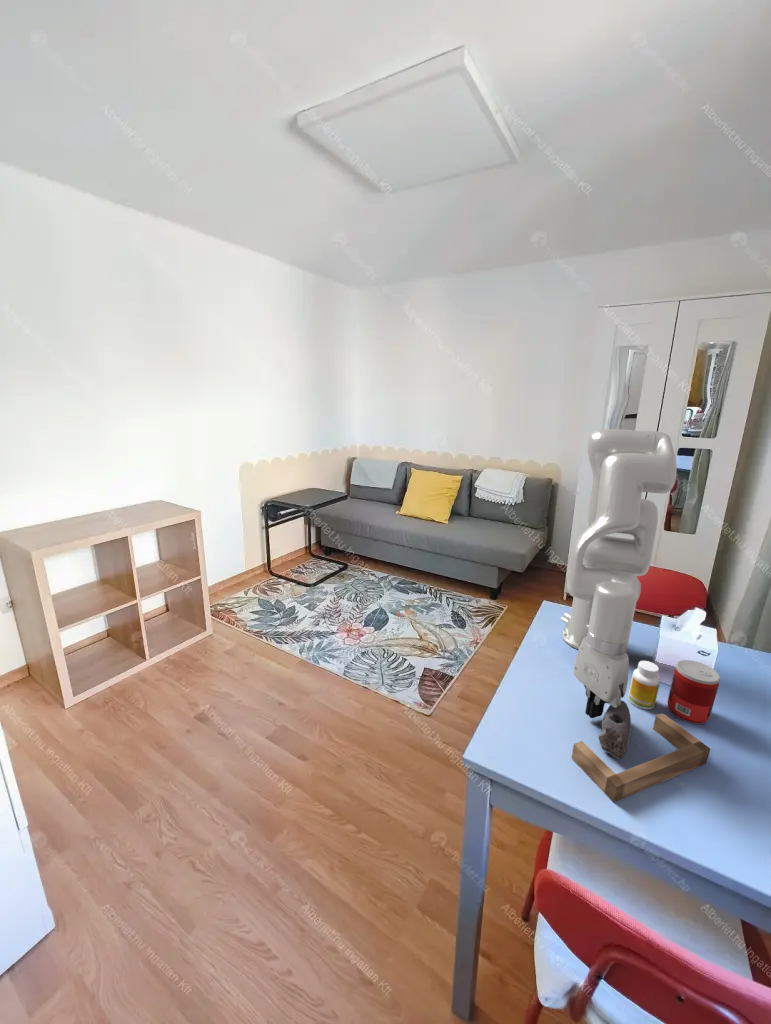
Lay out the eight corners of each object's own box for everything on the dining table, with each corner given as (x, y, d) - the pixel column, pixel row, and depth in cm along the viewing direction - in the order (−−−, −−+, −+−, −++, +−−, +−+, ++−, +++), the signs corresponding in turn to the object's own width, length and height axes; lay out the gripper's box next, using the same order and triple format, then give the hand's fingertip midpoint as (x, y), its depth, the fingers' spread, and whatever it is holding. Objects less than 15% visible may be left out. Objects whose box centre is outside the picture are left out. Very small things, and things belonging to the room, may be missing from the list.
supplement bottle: (655, 713, 98) (664, 676, 95) (628, 705, 100) (636, 669, 97) (653, 698, 102) (661, 662, 100) (627, 691, 104) (634, 656, 102)
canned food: (716, 727, 94) (728, 684, 91) (674, 721, 95) (685, 678, 92) (699, 703, 101) (709, 662, 98) (661, 697, 102) (670, 657, 99)
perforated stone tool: (606, 711, 98) (611, 685, 96) (632, 721, 95) (638, 695, 93) (592, 755, 86) (598, 727, 84) (622, 769, 83) (629, 739, 81)
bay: (571, 758, 85) (573, 743, 84) (659, 726, 94) (662, 713, 93) (613, 802, 76) (616, 786, 75) (706, 763, 85) (710, 748, 84)
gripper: (566, 625, 95) (555, 696, 100) (623, 666, 82) (607, 745, 87) (593, 619, 98) (581, 688, 103) (652, 658, 84) (635, 735, 90)
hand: (593, 714), depth 95 cm, fingers closed
